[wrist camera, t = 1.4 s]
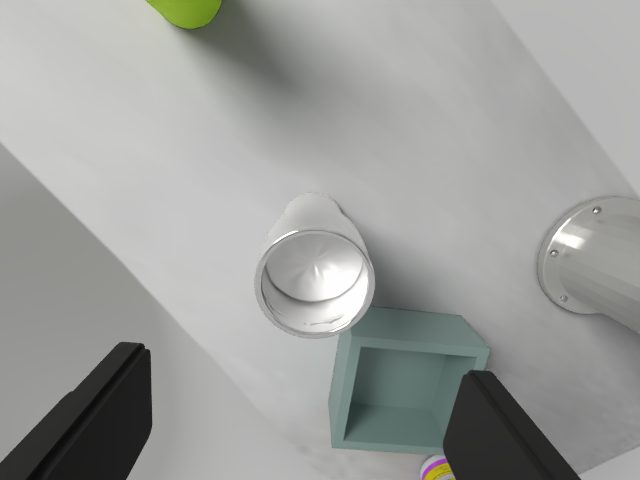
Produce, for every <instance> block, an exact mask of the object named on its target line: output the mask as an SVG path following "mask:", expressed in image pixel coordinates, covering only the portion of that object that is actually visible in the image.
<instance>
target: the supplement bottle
mask: <svg viewBox="0 0 640 480" xmlns="http://www.w3.org/2000/svg"><path fill="white" fill-rule="evenodd" d="M420 479H421V480H456V479H455V477H454V475H453V473H452V470H451V468H450V466H449V464H448V461H447V459H446V457H445V456H440V455H433V456H432V457H430V458H429V459H427V460H426V461H425V463H424V464H423V466H422V468H421V471H420Z"/></svg>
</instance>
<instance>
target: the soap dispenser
mask: <svg viewBox="0 0 640 480" xmlns="http://www.w3.org/2000/svg"><path fill="white" fill-rule="evenodd" d="M146 1H147V2H148V3H149V4H150V5H151V6H152V7H153V8H155V9H156V10H157V11H158V12H159V13H160V14H161V15H162V16H163V17H165V18H166V19H167V20H168V21H170V22H171V23H173V24H175V25H177V26H179V27H182V28H189V29H192V28H198V27H201V26H204V25H206V24H207V23H209V22H210V21H211V20H212V19H213V18H214V17H215V15H216V14H217V12H218V10H219V8H220V5H221V2H222V0H146Z"/></svg>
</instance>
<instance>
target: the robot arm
mask: <svg viewBox="0 0 640 480" xmlns="http://www.w3.org/2000/svg"><path fill="white" fill-rule="evenodd" d="M538 278H539V282H540V285H541V287H542V289H543V291H544V292H545V294H546V295H547V296H548V297H549V298H550V299H551V300H552V301H554V302H555V303H556V304H558V305H559V306H561V307H563V308H565V309H566V310H569V311H572V312H575V313H581V314H598V313H603V314H605V315H607V316H609V317H610V318H612V319H614V320H616V321H617V322H619V323H621V324H623V325H625V326H626V327H628V328H630V329H632V330H633V331H635V332H637V333H639V334H640V201H638V200H634V199H630V198H623V197H602V198H598V199H594V200H591V201H588V202H586V203H584V204H582V205H579V206H578V207H576V208H575V209H573V210H572V211H570V212H568V213H567V214H566V215H565V216H564V217H563V218H562V219H560V220H559V221H558V222H557V224H556V225H555V226H554V227H553V228H552V230H551V231H550V232H549V234H548V236H547V237H546V239H545V241H544V243H543V245H542V248H541V250H540V253H539V258H538ZM151 397H152V396H151V356H150V350H149V349H145V346H144V344H141V343H130V342H120V343H119V344H118V345H116V347H114V349H113V350H112V351H111V352H110V353H109V354H108V355H107V356H106V357H105V358H104V359H103V360H102V361H101V362H100V363H99V364H98V366H97V367H96V368H95V369H94V370H93V371H92V372H91V373H90V374H89V375H88V376H87V377H86V378H85V379H84V380H83V381H82V382H81V383H80V385H79V386H78V387H77V388H76V389H75V390H74V391H71V392H69V393H68V394H67V395H66V396H65V397H64V398H62V399H61V400H60V401H59V403H58V404H57V405H56V406H55V407H54V408H53V409H52V410H51V411H50V412H49V413H48V414H47V415H46V416H45V417H44V418H43V419H42V420H41V421H40V422H39V423H38V424H37V425H36V427H34V428H33V429H32V430H31V432H30V433H29V434H28V435H27V436H26V437H25V438H24V439H23V440H22V441H21V442H20V443H19V444H18V445H17V446H16V447H15V448H14V449H13V451H11V452H10V453H9V454H8V456H7V457H6V458H5V459H4V460H3V461H2V462H1V463H0V480H126V479H127V477H128V475H129V473H130V471H131V469H132V468H133V466H134V464H135V462H136V460H137V458H138V456H139V455H140V452H141V451H142V449H143V447H144V445H145V443H146V442H147V440H148V437H149V435H150V432H151V428H152V398H151ZM443 451H444V455H445V457H446V459H447V461H448V464H449V466H450V468H451V470H452V473H453V475H454V477H455V479H456V480H581V479H580V478H579V476H578V475H577V474H576V473H575V472H574V470H573V469H572V468H571V467H570V466H569V464H568V463H567V462H566V461H565V459H564V458H563V457H562V456H561V455H560V453H559V452H558V451H557V450H556V449H555V447H554V446H553V445H552V444H551V443H550V441H549V440H548V439H547V438H546V437H545V435H544V434H543V433H542V432H541V431H540V429H539V428H538V427H537V426H536V425H535V423H534V422H533V421H532V420H531V419H530V417H529V416H528V415H527V414H526V412H525V411H524V410H523V409H522V408H521V406H520V405H519V404H518V403H517V402H516V400H515V399H514V398H513V397H512V396H511V394H510V393H509V392H508V391H507V390H506V388H505V387H504V386H503V385H502V384H501V382H500V381H499V380H498V379H497V378H496V376H495V375H494V374H493V373H492V372H490V371H483V370H470V371H469V372H468V373H467V374H464V375H463V377H462V380H461V383H460V387H459V390H458V393H457V396H456V400H455V403H454V406H453V410H452V413H451V416H450V420H449V423H448V426H447V430H446V433H445V436H444V440H443Z"/></svg>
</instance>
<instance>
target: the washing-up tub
mask: <svg viewBox="0 0 640 480" xmlns="http://www.w3.org/2000/svg"><path fill="white" fill-rule="evenodd" d="M490 350H491V349H490V347H489V346H488V345H487V344H486V343H485V342H484V341H483V340H482V339H481V337H480V336H479V335H478V334H477V333H476V332H475V331H474V330H473V329H472V327H471V326H470V325H469V324H468V323H467V322H466V321H465V320H464V319H463V317H462V316H460V315H450V314H440V313H430V312H420V311H410V310H400V309H390V308H380V307H371V306H369V308H368V310H367V311H366V313H365V314H364V315H363V317H362V318H361V319H360V320H359V321H358V322H357V323H356V324H354V325H353V326H352V327H350V328H349V329H347V330H346V331H344V332H342V333H340V335H339V341H338V347H337V353H336V359H335V365H334V371H333V378H332V384H331V390H330V396H329V416H330V429H331V443H332V448H340V449H354V450H369V451H383V452H397V453H412V454H426V455H440V456H445V455H444V451H443V440H444V436H445V433H446V430H447V426H448V423H449V420H450V416H451V413H452V410H453V406H454V403H455V400H456V396H457V393H458V390H459V387H460V383H461V380H462V377H463V375H464V374H467V373H468V372H469V371H470V370H483V371H484V368H485V365H486V362H487V359H488V356H489V353H490Z"/></svg>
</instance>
